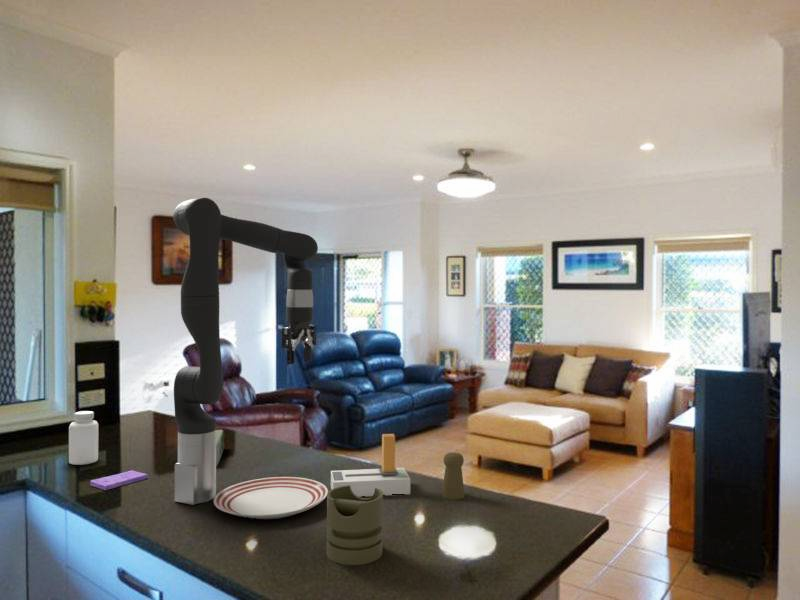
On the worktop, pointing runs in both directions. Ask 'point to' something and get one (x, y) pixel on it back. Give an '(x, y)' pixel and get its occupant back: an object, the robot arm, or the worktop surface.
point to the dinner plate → (271, 497)
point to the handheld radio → (219, 445)
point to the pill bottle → (83, 439)
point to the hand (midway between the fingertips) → (299, 362)
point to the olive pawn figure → (453, 477)
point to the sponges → (118, 480)
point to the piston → (354, 526)
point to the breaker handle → (388, 455)
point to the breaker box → (371, 481)
